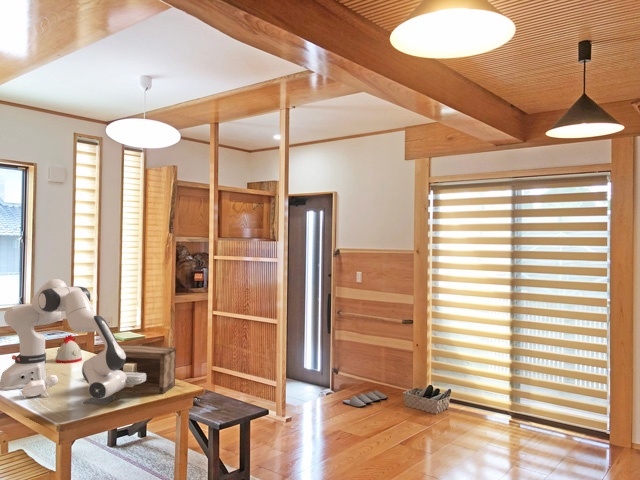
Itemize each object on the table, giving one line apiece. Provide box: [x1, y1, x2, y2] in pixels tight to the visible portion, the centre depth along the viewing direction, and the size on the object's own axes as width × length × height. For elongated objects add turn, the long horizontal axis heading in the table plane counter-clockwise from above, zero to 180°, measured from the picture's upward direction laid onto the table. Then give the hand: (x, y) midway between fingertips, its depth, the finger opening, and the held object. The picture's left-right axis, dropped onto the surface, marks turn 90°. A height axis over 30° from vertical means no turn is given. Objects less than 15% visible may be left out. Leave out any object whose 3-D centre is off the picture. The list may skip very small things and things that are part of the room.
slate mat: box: [82, 395, 117, 406], centre depth 229 cm, size 10×10×1 cm
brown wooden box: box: [117, 344, 177, 395], centre depth 250 cm, size 14×30×19 cm, turn 84°
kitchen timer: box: [55, 334, 83, 364], centre depth 303 cm, size 14×14×15 cm
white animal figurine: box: [21, 374, 59, 400], centre depth 234 cm, size 9×8×15 cm
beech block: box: [123, 363, 137, 387], centre depth 239 cm, size 4×4×10 cm
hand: (130, 373), depth 240 cm, fingers closed on beech block, 4 cm apart
